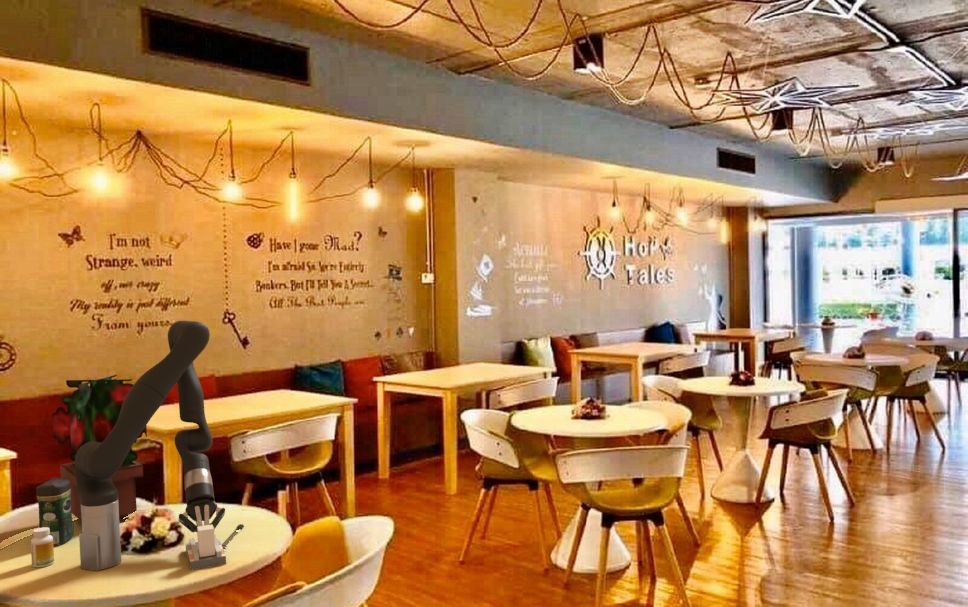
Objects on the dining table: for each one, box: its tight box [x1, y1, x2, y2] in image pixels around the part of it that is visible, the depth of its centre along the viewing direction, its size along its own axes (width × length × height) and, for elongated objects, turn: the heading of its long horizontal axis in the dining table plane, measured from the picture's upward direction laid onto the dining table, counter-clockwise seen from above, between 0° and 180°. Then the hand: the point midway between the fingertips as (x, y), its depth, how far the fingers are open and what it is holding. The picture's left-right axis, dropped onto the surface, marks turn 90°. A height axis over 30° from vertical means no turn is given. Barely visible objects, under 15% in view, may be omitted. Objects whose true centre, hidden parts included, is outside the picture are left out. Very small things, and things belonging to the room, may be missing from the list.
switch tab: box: [196, 524, 215, 557], centre depth 220 cm, size 4×4×7 cm
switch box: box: [185, 534, 227, 571], centre depth 224 cm, size 16×9×4 cm, turn 24°
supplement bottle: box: [30, 527, 55, 569], centre depth 221 cm, size 5×5×10 cm
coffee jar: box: [36, 477, 75, 547], centre depth 239 cm, size 10×8×19 cm
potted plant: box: [51, 374, 148, 523], centre depth 260 cm, size 22×22×45 cm
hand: (205, 543), depth 222 cm, fingers closed
